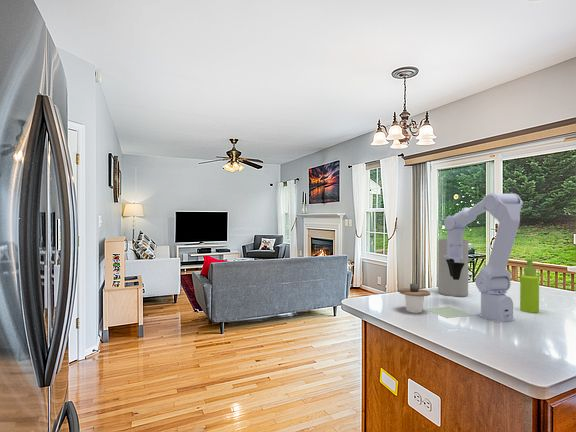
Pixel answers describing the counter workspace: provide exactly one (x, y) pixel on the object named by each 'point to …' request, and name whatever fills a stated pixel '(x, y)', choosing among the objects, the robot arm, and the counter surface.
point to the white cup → (414, 303)
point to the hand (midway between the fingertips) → (454, 278)
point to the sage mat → (448, 312)
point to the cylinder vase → (444, 279)
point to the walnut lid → (414, 291)
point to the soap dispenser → (529, 288)
